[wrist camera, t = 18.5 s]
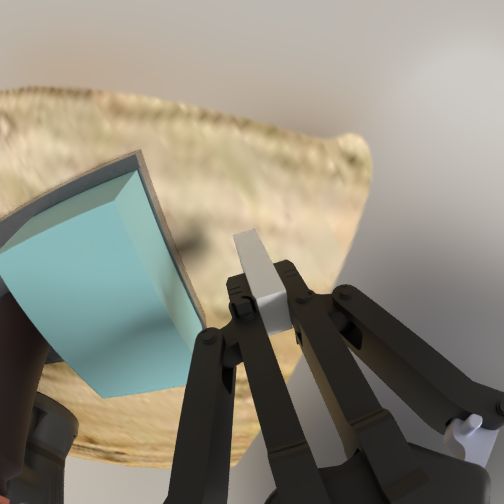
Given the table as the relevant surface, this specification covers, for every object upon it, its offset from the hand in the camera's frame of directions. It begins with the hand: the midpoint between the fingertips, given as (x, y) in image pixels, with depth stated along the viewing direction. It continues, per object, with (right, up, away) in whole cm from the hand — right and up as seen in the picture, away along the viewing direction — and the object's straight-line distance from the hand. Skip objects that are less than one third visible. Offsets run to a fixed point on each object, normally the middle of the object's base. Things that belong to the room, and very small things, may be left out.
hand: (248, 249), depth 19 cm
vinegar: (-22, -6, +1) cm, 22 cm away
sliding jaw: (-10, -2, +1) cm, 11 cm away
